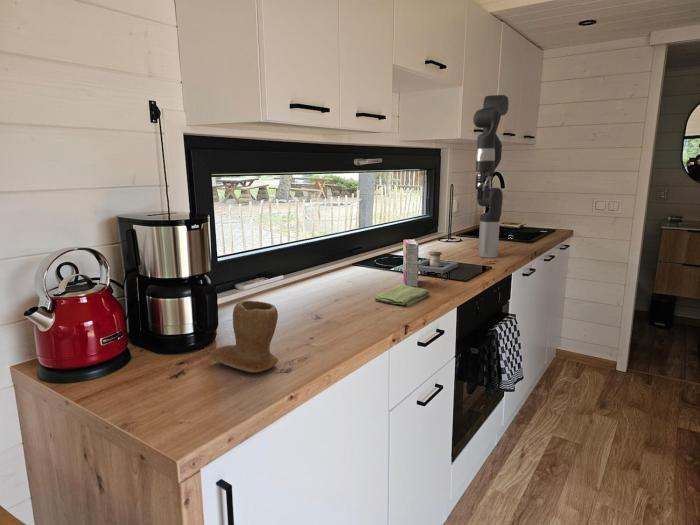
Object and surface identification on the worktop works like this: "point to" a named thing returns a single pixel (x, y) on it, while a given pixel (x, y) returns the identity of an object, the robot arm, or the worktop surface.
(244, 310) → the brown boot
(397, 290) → the washcloth
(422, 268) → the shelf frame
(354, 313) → the worktop surface
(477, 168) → the robot arm
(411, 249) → the candy bar box
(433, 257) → the cord spool
